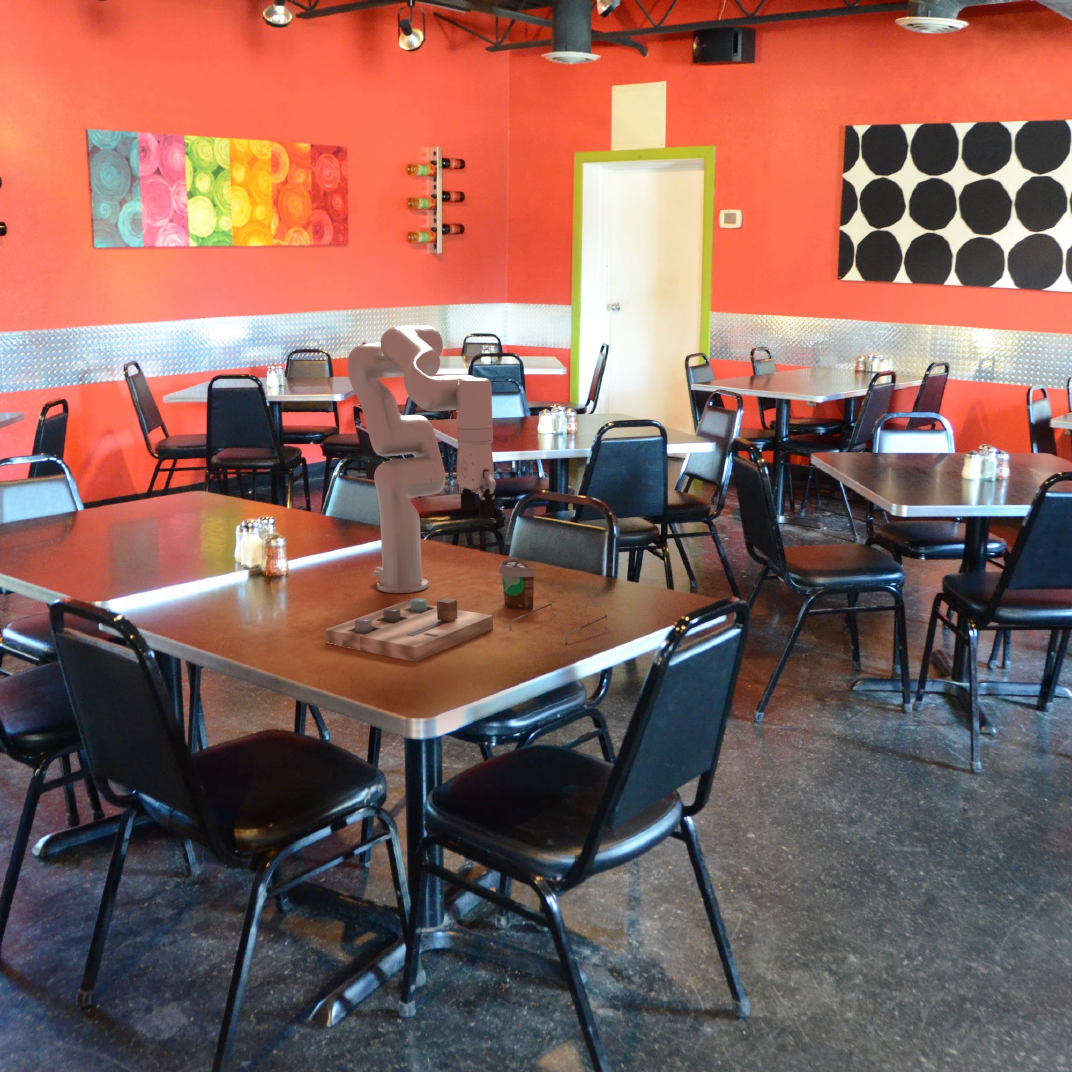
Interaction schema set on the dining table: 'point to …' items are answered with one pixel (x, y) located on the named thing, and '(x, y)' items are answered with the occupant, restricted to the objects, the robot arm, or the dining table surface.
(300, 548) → the dining table surface
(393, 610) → the charcoal button
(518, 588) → the food container
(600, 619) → the eyeglasses
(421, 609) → the teal button
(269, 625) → the dining table surface
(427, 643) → the control panel
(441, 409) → the robot arm
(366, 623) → the slate button
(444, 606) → the walnut slider
